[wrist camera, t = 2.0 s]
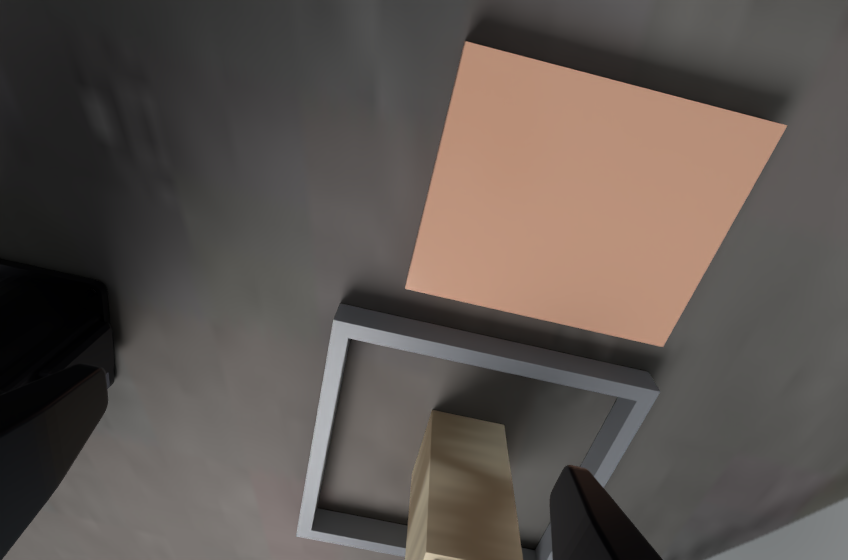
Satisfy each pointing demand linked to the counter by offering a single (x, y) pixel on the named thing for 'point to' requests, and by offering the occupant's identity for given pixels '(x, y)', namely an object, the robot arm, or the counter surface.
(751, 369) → the counter surface
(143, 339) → the counter surface
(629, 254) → the terracotta tile
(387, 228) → the counter surface
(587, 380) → the grey picture frame
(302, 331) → the counter surface
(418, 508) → the birch label block
